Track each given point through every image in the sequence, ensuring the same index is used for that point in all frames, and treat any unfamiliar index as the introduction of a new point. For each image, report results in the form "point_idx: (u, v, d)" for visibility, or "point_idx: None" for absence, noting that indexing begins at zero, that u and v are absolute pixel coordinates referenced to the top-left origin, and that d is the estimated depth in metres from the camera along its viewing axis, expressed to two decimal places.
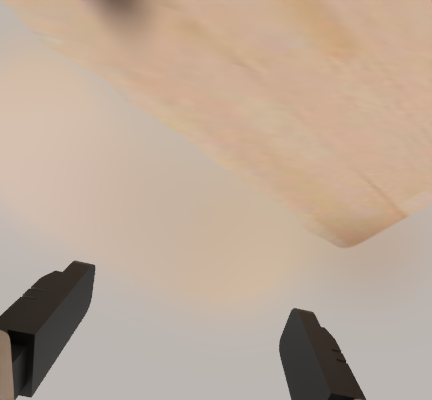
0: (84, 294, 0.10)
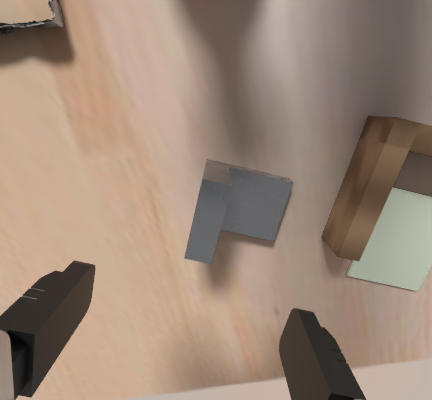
0: (84, 294, 0.10)
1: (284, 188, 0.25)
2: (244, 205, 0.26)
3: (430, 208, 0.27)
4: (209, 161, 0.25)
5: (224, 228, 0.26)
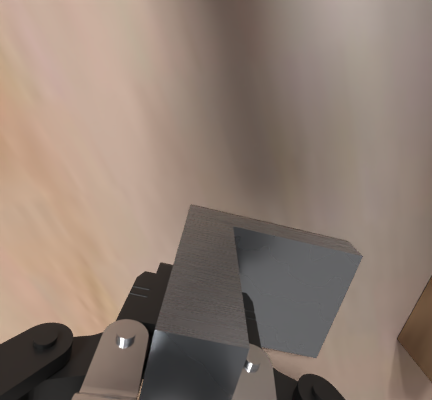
0: None
1: (344, 267, 0.13)
2: (263, 296, 0.13)
3: None
4: (194, 212, 0.12)
5: None
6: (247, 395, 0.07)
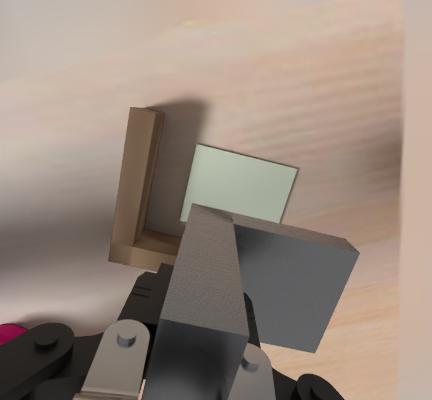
0: None
1: (341, 263, 0.13)
2: (262, 293, 0.13)
3: (200, 177, 0.27)
4: (195, 210, 0.13)
5: None
6: (246, 395, 0.07)
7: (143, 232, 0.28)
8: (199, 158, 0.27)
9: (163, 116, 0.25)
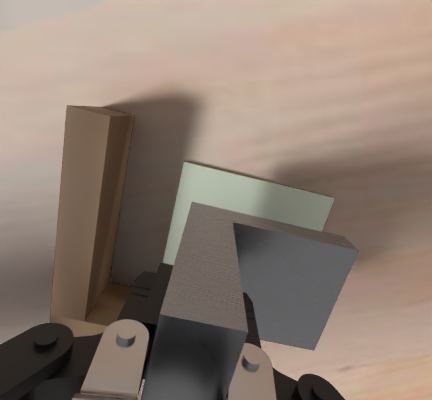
0: None
1: (340, 261, 0.13)
2: (262, 290, 0.13)
3: None
4: (195, 209, 0.13)
5: None
6: (247, 395, 0.07)
7: (107, 288, 0.20)
8: (188, 183, 0.18)
9: (132, 120, 0.16)
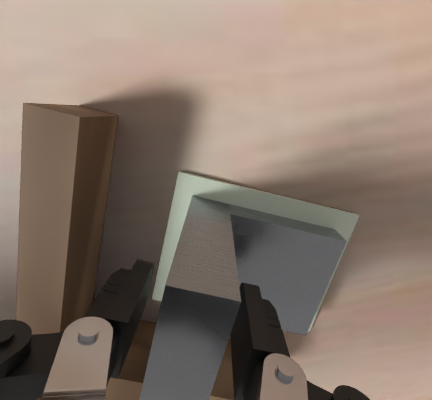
0: (147, 290, 0.11)
1: (330, 251, 0.14)
2: (257, 278, 0.14)
3: None
4: (195, 202, 0.14)
5: None
6: None
7: None
8: (184, 197, 0.15)
9: (115, 121, 0.14)
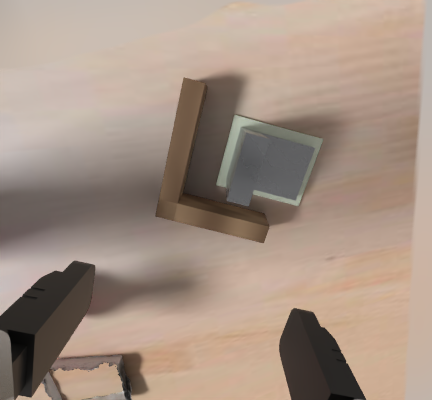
0: (84, 294, 0.10)
1: (307, 153, 0.29)
2: (272, 167, 0.30)
3: None
4: (243, 128, 0.29)
5: (253, 187, 0.30)
6: None
7: (183, 194, 0.32)
8: (236, 128, 0.30)
9: (206, 89, 0.29)
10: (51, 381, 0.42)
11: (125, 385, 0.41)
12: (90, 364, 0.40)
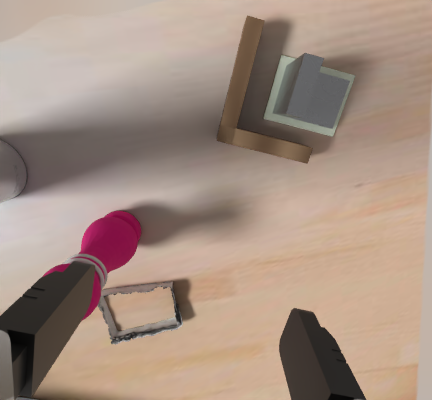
0: (84, 295, 0.10)
1: (343, 85, 0.35)
2: (313, 99, 0.35)
3: None
4: None
5: (297, 117, 0.36)
6: None
7: None
8: (282, 66, 0.36)
9: None
10: (107, 310, 0.47)
11: (176, 309, 0.46)
12: (146, 288, 0.45)
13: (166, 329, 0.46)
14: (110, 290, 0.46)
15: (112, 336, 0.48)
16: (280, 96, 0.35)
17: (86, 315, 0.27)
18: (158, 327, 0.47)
